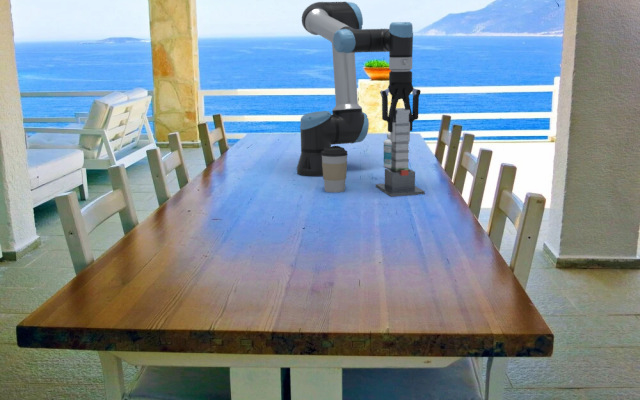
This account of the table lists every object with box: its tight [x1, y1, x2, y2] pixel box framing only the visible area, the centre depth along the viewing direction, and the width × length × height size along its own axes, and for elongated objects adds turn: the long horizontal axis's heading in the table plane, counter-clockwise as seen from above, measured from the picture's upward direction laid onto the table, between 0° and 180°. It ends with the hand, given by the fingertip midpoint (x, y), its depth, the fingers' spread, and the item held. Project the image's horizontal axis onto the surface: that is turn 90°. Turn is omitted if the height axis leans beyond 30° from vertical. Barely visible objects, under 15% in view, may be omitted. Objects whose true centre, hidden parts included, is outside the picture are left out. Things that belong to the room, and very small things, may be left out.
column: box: [390, 107, 410, 172], centre depth 230 cm, size 4×6×21 cm
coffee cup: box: [321, 145, 348, 193], centre depth 235 cm, size 9×9×15 cm
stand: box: [375, 168, 426, 197], centre depth 233 cm, size 12×16×8 cm
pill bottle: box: [383, 132, 392, 169], centre depth 275 cm, size 8×7×14 cm
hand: (399, 141), depth 230 cm, fingers closed on column, 4 cm apart
